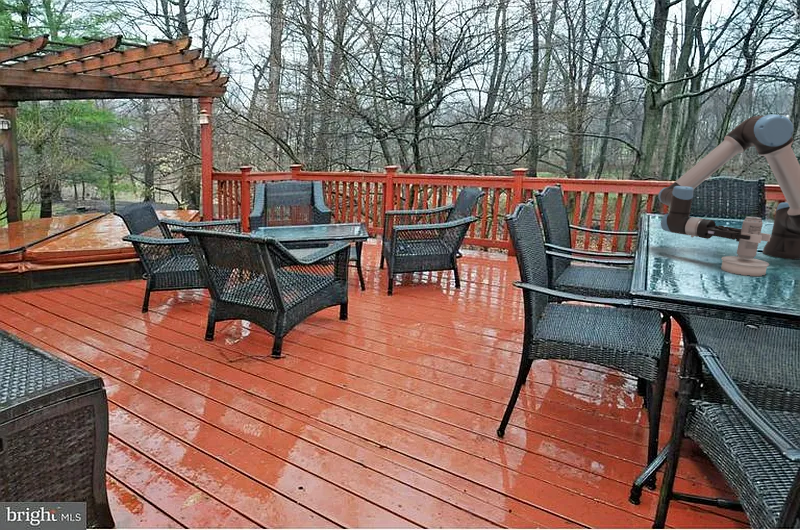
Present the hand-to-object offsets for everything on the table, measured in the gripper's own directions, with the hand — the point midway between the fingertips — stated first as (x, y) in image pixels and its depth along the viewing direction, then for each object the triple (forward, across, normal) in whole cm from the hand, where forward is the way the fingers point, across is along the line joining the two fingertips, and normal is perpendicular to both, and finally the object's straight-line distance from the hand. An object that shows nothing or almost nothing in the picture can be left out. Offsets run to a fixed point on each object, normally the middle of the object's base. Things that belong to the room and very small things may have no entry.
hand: (765, 238), depth 183 cm
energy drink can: (-5, 0, -8) cm, 10 cm away
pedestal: (-5, 0, -14) cm, 14 cm away
